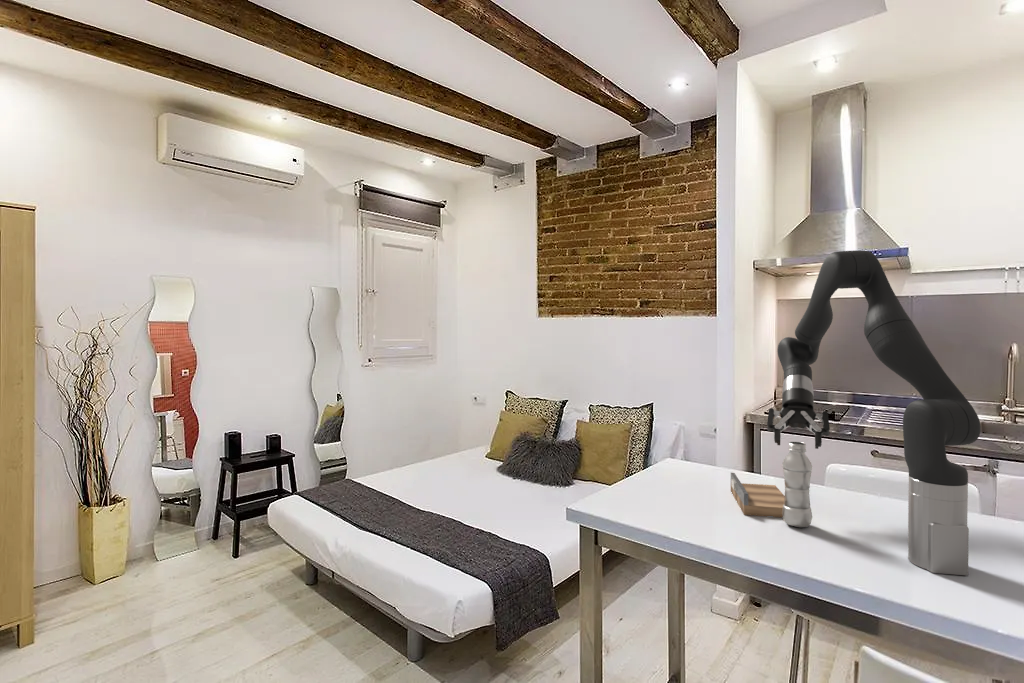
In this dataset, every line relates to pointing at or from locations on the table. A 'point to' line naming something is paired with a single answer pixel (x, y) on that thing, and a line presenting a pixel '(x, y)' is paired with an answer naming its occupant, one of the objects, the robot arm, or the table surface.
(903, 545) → the table surface
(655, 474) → the table surface
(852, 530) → the table surface
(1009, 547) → the table surface
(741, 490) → the rail
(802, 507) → the silver bottle
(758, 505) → the shelf board
